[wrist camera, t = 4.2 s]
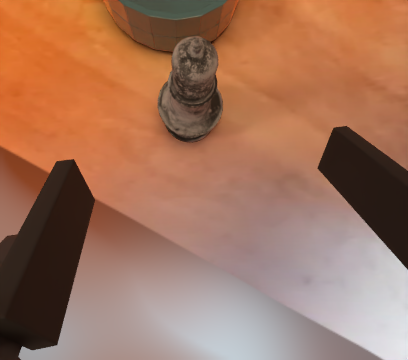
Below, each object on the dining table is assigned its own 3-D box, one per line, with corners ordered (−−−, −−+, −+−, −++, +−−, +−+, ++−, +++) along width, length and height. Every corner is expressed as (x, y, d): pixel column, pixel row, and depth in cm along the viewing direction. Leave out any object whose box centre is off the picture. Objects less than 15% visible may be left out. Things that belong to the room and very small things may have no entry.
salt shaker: (149, 111, 23) (116, 23, 11) (194, 80, 24) (208, -34, 12) (183, 156, 23) (186, 116, 11) (227, 124, 24) (273, 54, 12)
